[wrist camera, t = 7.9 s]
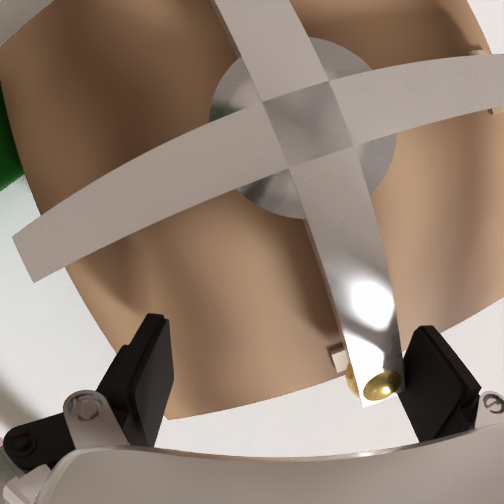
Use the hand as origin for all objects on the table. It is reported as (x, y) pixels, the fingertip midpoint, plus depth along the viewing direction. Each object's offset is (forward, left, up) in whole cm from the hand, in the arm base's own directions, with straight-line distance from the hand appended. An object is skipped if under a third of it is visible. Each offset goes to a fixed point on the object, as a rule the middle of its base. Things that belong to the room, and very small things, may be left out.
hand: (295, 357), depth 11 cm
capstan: (+3, +7, -2) cm, 8 cm away
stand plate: (+3, +7, -4) cm, 9 cm away
